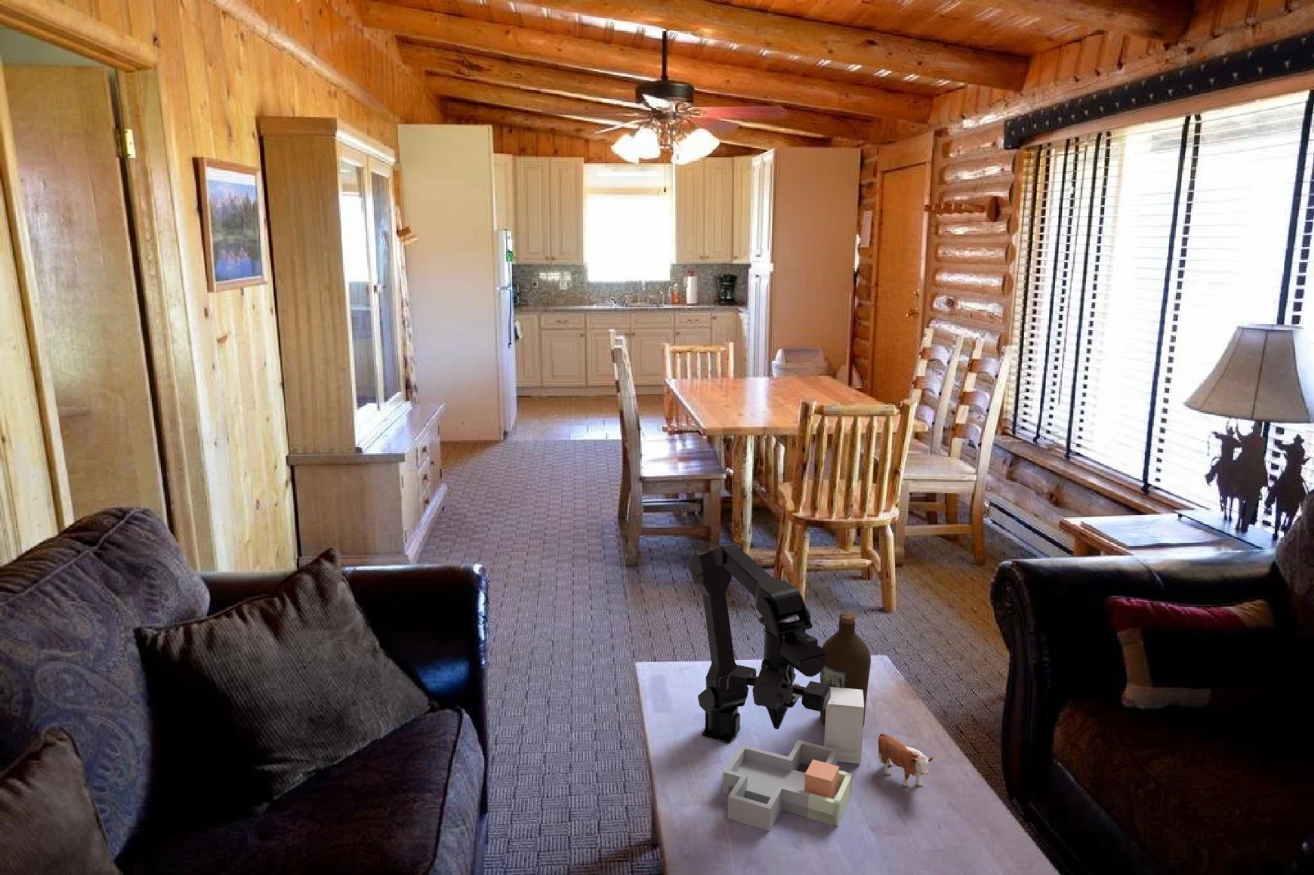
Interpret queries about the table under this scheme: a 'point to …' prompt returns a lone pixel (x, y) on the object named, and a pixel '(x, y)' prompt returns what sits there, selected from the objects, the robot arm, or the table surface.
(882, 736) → the bull figurine
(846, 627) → the olive oil
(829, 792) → the block
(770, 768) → the trap lane
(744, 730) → the table surface
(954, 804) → the table surface
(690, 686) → the table surface
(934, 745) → the table surface
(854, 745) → the supplement box
